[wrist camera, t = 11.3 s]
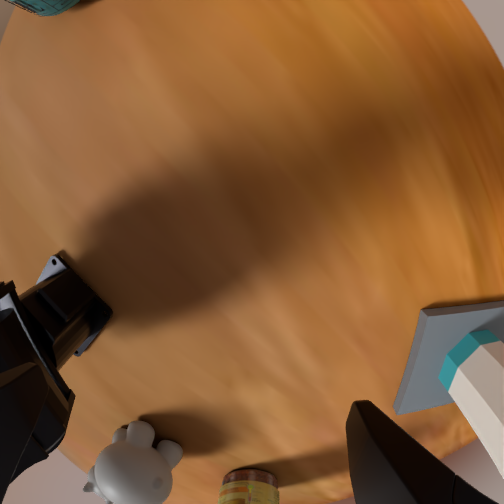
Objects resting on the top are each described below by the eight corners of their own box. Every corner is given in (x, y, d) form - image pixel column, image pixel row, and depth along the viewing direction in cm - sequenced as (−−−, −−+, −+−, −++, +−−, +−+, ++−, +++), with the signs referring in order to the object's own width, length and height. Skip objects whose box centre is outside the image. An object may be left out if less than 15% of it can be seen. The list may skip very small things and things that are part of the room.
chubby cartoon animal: (80, 434, 26) (51, 487, 18) (143, 407, 24) (112, 479, 15) (125, 470, 27) (106, 523, 19) (196, 450, 25) (182, 520, 17)
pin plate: (392, 406, 23) (407, 438, 19) (420, 309, 20) (447, 336, 16) (508, 376, 23) (527, 397, 19) (538, 295, 20) (563, 311, 16)
